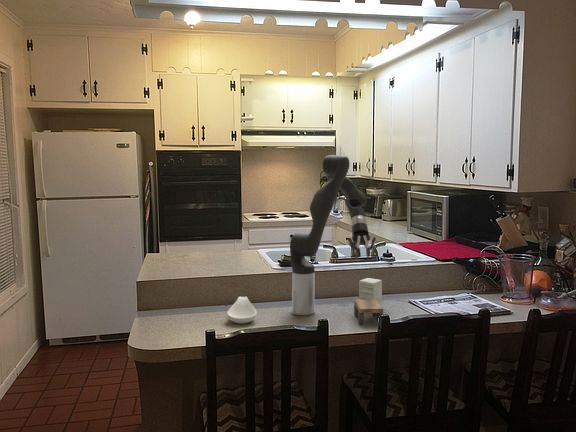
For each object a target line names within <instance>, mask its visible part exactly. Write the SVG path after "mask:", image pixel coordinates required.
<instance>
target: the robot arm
mask: <svg viewBox="0 0 576 432" xmlns="http://www.w3.org/2000/svg"><path fill="white" fill-rule="evenodd" d="M350 164H351V163H350V158H348V156H346V155H338V154H337V155H336V154H335V155H334V154H331V155H326V156H325V157H324V158H323V160H322V170H323V172H324V174H325V175H326V176H327V177H328V178H329V181H328V182H326V183H325V184H324V185H323V186H321V187H320V188H319V189H318V190H317V191H316V192H315V194H314V195H313V197H312V199H311V202H310V204H309V211H310V216H311V220H312V225H311V226H312V227H311V228H310V229H311V230H310V232H309V233H299V232H298V233H294V234H293V235H292V236H291V239H290V241H289V242H290V243H289V253H290V266H291V268H292V269H291V270H292V271H291V272H292V279H291V281H292V282H291V283H292V289H291V297H292V298H291V302H292V303H291V304H292V306H291V311H292V315H297V316H310V315H311V316H312V315H314V314H315V309H316V307H315V279H316V278H315V275H316V274H315V265H314V264H312V263H311V262H310V261H308V260H307V259H306V258H305V257H314V256H315V255H316V254H317V253H318V251H319V248H320V245H321V242H322V237H323V234H324V230H325V228H326V224H327V222H328V219H329V217H330V214H331V212H332V210H333V207H334V204H335V201H336V199H337V196H338V193H339V191H341V194H343V196H344V198H345V200H344V203H345V206H346V207H347V209H348V212H349V215H350V222H351V223H350V224H351V225H350V227H351V232H352V233H351V234H352V237H347V243H348V245H349V247H350V249H351V250H352V251H356V256H357V257H358V258H361V256H362V255H361V254H362V253H361V249H360V246H364V248H365V250H366V251H365V252H366V253H365V254H366V258H370V255H371V251H373V249H374V245H375V243H376V237H374V236H373V237H371V235H370V234H369V228H368V221H367V218H366V213H365V209H364V208H362V207H365V206H366V205H367V196H366V195H365V194H364V193H363V192H362V191H361V190H359V189H358V188H357V186H356V185H355V183H354V181H352V180H351V179H350V178H349V177H347V175H348V173H349V169H350ZM369 241H370V243H371V244H370V245H369ZM355 244H356V245H355Z"/></svg>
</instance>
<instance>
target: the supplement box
mask: <svg viewBox="0 0 576 432" xmlns="http://www.w3.org/2000/svg"><path fill="white" fill-rule="evenodd" d="M358 281H359V282H358V288H359V289H358V299H376V300H377V301H378V302H379V304H380V305H381V306H382V305H383V303H382V302H383V300H382V299H383V280H382V279H377V278H371V277H366V278H363V279H361V280H358ZM382 307H383V306H382Z"/></svg>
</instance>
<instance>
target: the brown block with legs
mask: <svg viewBox="0 0 576 432" xmlns="http://www.w3.org/2000/svg"><path fill="white" fill-rule="evenodd" d="M353 299H354V298H353ZM353 304H354V305H353V314H354V315H353V316H354V317H355V318H357V321H358V325H364V324H365V314H372V317H376V322H377V324H378V318H379V316H380V315H383V316H384V307H383V306H381V305H380V304H379V302H378V301H377V300H376V299H359V298H356V299H354V300H353Z"/></svg>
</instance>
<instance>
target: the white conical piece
mask: <svg viewBox="0 0 576 432" xmlns="http://www.w3.org/2000/svg"><path fill="white" fill-rule="evenodd" d="M257 315H258V312H257V310H256V308H255V306H254V305H253V304H252V303H251V302H250V300H249V299H248V297H247V296H238V297H237V299H236V301H235V302H234V303H233V304H232V305H231V306H230V308H229V309H228V311H227V312H226V316H227V317H228V319H229V320H230V322H233V323H234V324H235V323H236V324H239V325H240V324H242V325H243V324H248V323H251V322H253V320H255V318H256V316H257Z"/></svg>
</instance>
